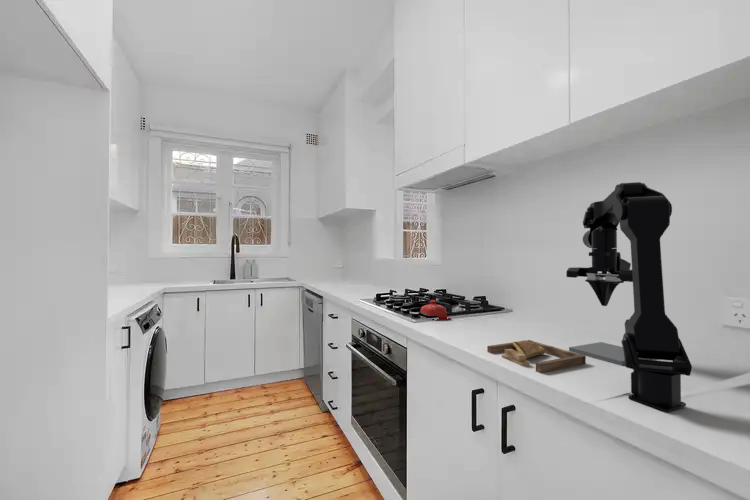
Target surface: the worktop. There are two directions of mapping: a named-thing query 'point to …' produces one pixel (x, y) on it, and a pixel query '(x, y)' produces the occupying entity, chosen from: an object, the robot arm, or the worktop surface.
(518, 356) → the upper oak offcut
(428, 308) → the butter dish
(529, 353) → the shard
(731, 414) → the worktop surface
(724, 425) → the worktop surface
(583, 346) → the charcoal mat
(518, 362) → the lower oak offcut
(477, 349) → the worktop surface
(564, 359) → the walnut open-sided frame
